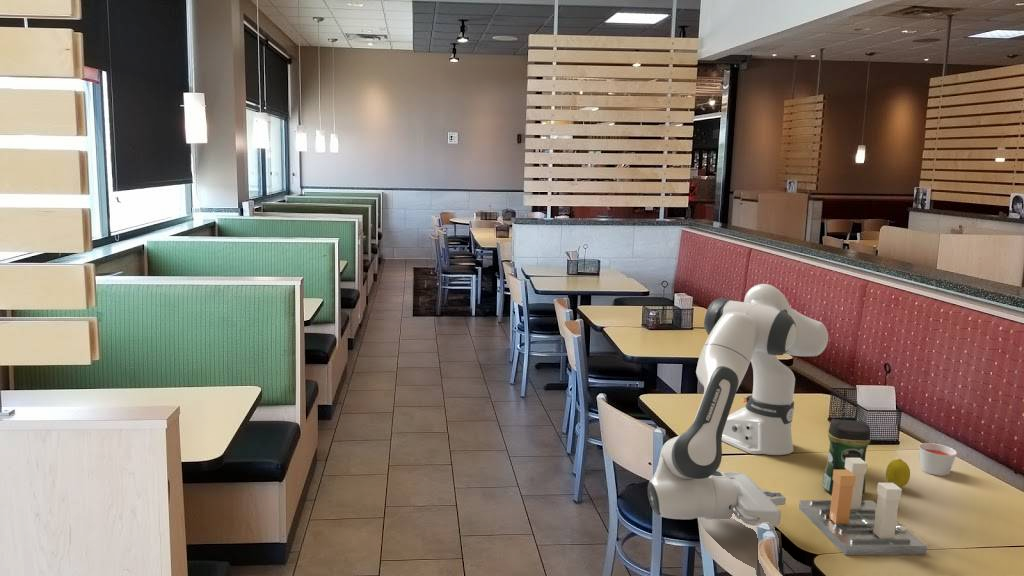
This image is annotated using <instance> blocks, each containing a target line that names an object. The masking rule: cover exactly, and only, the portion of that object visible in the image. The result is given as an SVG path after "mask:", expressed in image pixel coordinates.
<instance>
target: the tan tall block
mask: <svg viewBox="0 0 1024 576" xmlns="http://www.w3.org/2000/svg"><path fill="white" fill-rule="evenodd" d="M855 479H856V476H855V475H854V474H853V473H852V472H850V471H849V470H833V479H832V480H833V490H832V494H831V498H830V500H831V507H830V515H829V518H830V519H831V520H832V521H833V522H834V523H849V516H850V508H851V500H852V492H853V486H855Z"/></svg>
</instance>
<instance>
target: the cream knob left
mask: <svg viewBox="0 0 1024 576" xmlns="http://www.w3.org/2000/svg"><path fill="white" fill-rule="evenodd" d="M867 467H868V462H866V460H865V461H863V460H862V459H861V458H846V460H845V468H846V470H849V471H850V472H852V473H853V474H854V475H855V476H856V479H855V486H853V492H852V500H851V508H850V509H860V507H861V500H862V497H863V495H862V491H863V483H864V475H865V476H866V474H867Z"/></svg>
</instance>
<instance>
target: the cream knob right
mask: <svg viewBox="0 0 1024 576" xmlns="http://www.w3.org/2000/svg"><path fill="white" fill-rule="evenodd" d="M902 491H903V489H902V487H898V486H897V485H895V484H894V483H889V482H877V489H876V494H877V498H876V499H877V500H876V504H877V506H876V514H875V521H874V529H873V533H874V534H876V535H877V536H878V537H879V538H880V539H894V534H895V527H896V521H897V518H898V510H899V502H900V501H901V499H902Z"/></svg>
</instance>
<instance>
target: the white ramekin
mask: <svg viewBox="0 0 1024 576" xmlns="http://www.w3.org/2000/svg"><path fill="white" fill-rule="evenodd" d="M918 448H919V449H918V450H919V452H918V453H919V465H920V469H921V471H923V472H925V474H926V473H927V474H929V475H933V476H938V477H942V476H943V477H944V476H948V475H949V474H950V473H951V469H952V467H953V464H954V462H955V459H956V457H957V456H956V455H957V450H955V449H954V448H952V447H950V446H947V445H944V444H939V443H935V442H933V443H932V442H923V443H922V442H921V443H920V444H919V445H918Z"/></svg>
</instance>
